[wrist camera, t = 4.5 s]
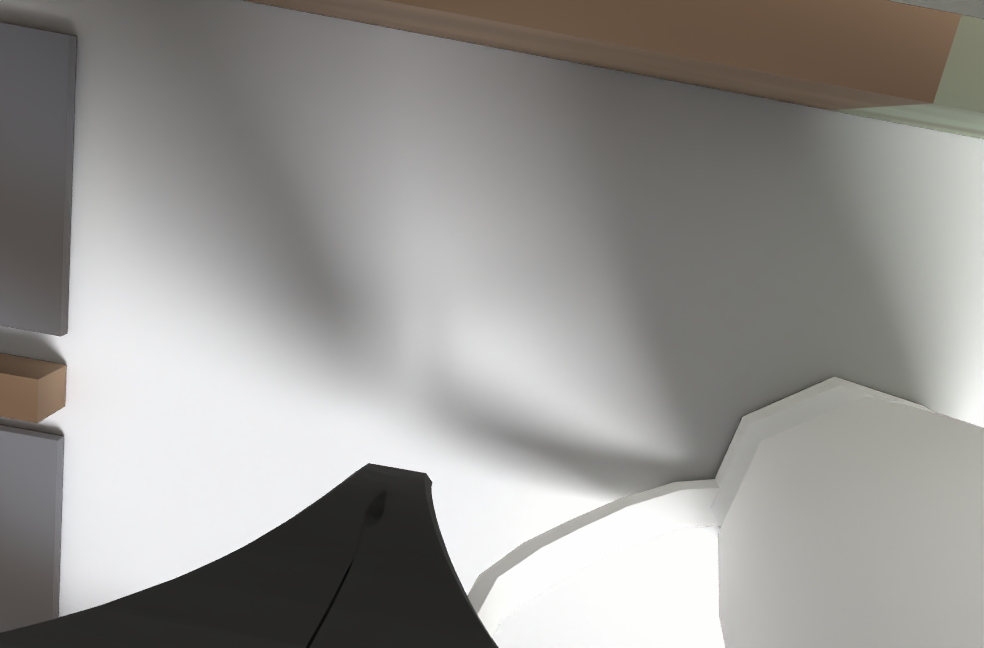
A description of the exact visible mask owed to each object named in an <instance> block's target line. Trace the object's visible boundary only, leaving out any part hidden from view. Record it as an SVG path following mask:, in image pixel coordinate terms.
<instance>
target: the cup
mask: <svg viewBox="0 0 984 648" xmlns="http://www.w3.org/2000/svg"><path fill="white" fill-rule="evenodd" d="M710 526H719V527H720V531H719V533H718V568H719V617H720V622H721V627H722V632H723V638H724V643H725V648H984V428H982V427H979V426H976V425H973V424H970V423H967V422H964V421H961V420H958V419H955V418H952V417H949V416H946V415H942V414H938V413H934V412H932V411H930V410H929V409H927V408H926V407H925V406H922V405H919V404H916V403H913V402H910V401H907V400H904V399H901V398H898V397H895V396H892V395H889V394H886V393H883V392H880V391H877V390H874V389H871V388H868V387H865V386H862V385H858V384H855V383H852V382H849V381H846V380H843V379H840V378H837V377H832V378H830V379H828V380H825V381H823V382H821V383H818V384H816V385H814V386H812V387H809V388H807V389H805V390H802V391H800V392H798V393H796V394H793V395H791V396H789V397H786V398H784V399H782V400H780V401H777V402H775V403H773V404H770V405H768V406H766V407H764V408H761V409H759V410H757V411H754V412H752V413H750V414H748V415H745V416H743V417H742V419H741V421H740V424H739V426H738V428H737V430H736V433H735V435H734V437H733V439H732V441H731V444H730V446H729V448H728V450H727V452H726V455H725V457H724V459H723V461H722V464H721V466H720V468H719V470H718V472H717V475H716V477H715V479H710V480H696V481H682V482H673V483H670V484H667V485H663V486H660V487H657V488H653V489H650V490H647V491H643V492H640V493H637V494H633V495H630V496H627V497H623V498H620V499H617V500H615V501H613V502H611V503H608V504H606V505H604V506H601V507H599V508H597V509H595V510H592V511H590V512H588V513H586V514H583V515H581V516H579V517H576V518H574V519H572V520H570V521H568V522H565V523H563V524H561V525H559V526H557V527H555V528H553V529H551V530H549V531H547V532H545V533H543V534H541V535H539V536H537V537H534V538H532V539H530V540H528V541H526V542H524V543H523V544H521V545H520V546H518V547H517V548H516V549H514V550H513V551H512V552H510V553H509V554H507V555H506V556H505V557H503V558H502V559H501V560H499V561H498V562H497V563H495V564H494V565H492V566H491V567H490V568H488V569H487V570H486V571H484V572H483V573H481V574H480V575H479V576H478V578H477V580H476V582H475V583H474V585H473V587H472V589H471V591H470V592H469V594H468V596H467V597H468V599H469V600H470V602H471V604H472V606H473V608H474V610H475V611H476V613H477V615H478V617H479V618H480V620H481V621H482V623H483V625H484V626H485V628H486V630H487V631H488V633H489V635H490V636H491V638H492V639H493V637H494V635H495V633H496V631H497V629H498V627H499V625H500V623H501V621H503V620H504V619H505V618H507V617H508V616H509V615H511V614H512V613H513V612H515V611H516V610H518V609H519V608H520V607H522V606H523V605H524V604H526V603H527V602H528V601H530V600H531V599H532V598H534V597H535V596H536V595H538V594H539V593H541V592H542V591H543V590H545V589H547V588H548V587H550V586H552V585H554V584H556V583H558V582H559V581H561V580H563V579H565V578H567V577H568V576H570V575H572V574H574V573H576V572H578V571H579V570H581V569H583V568H585V567H587V566H589V565H591V564H593V563H595V562H597V561H599V560H601V559H603V558H605V557H607V556H609V555H611V554H613V553H615V552H617V551H619V550H621V549H623V548H625V547H627V546H629V545H632V544H635V543H638V542H641V541H644V540H647V539H650V538H653V537H656V536H659V535H662V534H665V533H668V532H671V531H674V530H677V529H680V528H689V527H710Z"/></svg>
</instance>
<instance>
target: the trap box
mask: <svg viewBox="0 0 984 648" xmlns="http://www.w3.org/2000/svg"><path fill="white" fill-rule="evenodd" d="M244 1H250V2H255V3H260V4H266V5H271V6H276V7H282V8H287V9H292V10H298V11H303V12H308V13H314V14H319V15H324V16H330V17H335V18H340V19H346V20H351V21H356V22H362V23H367V24H372V25H378V26H383V27H388V28H394V29H399V30H404V31H410V32H415V33H420V34H426V35H431V36H436V37H442V38H447V39H452V40H458V41H463V42H468V43H474V44H479V45H484V46H490V47H495V48H500V49H506V50H511V51H516V52H522V53H527V54H532V55H538V56H543V57H548V58H554V59H559V60H564V61H570V62H575V63H580V64H586V65H591V66H596V67H602V68H607V69H612V70H618V71H623V72H628V73H634V74H639V75H644V76H650V77H655V78H660V79H666V80H671V81H676V82H682V83H687V84H692V85H698V86H703V87H708V88H714V89H719V90H724V91H730V92H735V93H740V94H746V95H751V96H756V97H762V98H767V99H772V100H778V101H783V102H788V103H794V104H799V105H804V106H810V107H815V108H820V109H826V110H831V111H836V112H842V113H847V114H852V115H858V116H863V117H868V118H874V119H879V120H884V121H890V122H895V123H900V124H906V125H911V126H916V127H922V128H927V129H932V130H938V131H943V132H948V133H954V134H959V135H964V136H970V137H975V138H980V139H984V19H982V18H977V17H972V16H967V15H961V14H956V13H951V12H946V11H940V10H935V9H930V8H924V7H919V6H914V5H909V4H903V3H898V2H893V1H888V0H244ZM76 44H77V37H76V36H71V35H66V34H61V33H55V32H50V31H45V30H39V29H34V28H28V27H23V26H18V25H12V24H7V23H2V22H0V326H6V327H11V328H17V329H23V330H28V331H34V332H39V333H45V334H50V335H56V336H63V335H65V334H67V329H68V297H69V266H70V234H71V202H72V171H73V139H74V107H75V76H76ZM65 392H66V365H63V364H58V363H52V362H46V361H41V360H35V359H30V358H24V357H19V356H13V355H8V354H2V353H0V417H6V418H11V419H17V420H23V421H28V422H34V423H38V422H40V421H42V420H43V419H45V418H47V417H48V416H50V415H52V414H53V413H55V412H56V411H58V410H60V409H61V408H63V407H65ZM63 455H64V436H59V435H54V434H48V433H42V432H37V431H31V430H26V429H20V428H15V427H9V426H3V425H0V633H1V632H5V631H9V630H13V629H17V628H21V627H25V626H29V625H33V624H37V623H41V622H45V621H49V620H52V619H56V618H58V613H59V582H60V550H61V519H62V487H63Z"/></svg>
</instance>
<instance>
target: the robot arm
mask: <svg viewBox="0 0 984 648" xmlns="http://www.w3.org/2000/svg"><path fill="white" fill-rule="evenodd" d="M431 486H432V481H431V480H430V478H429V477H428V475H427V474H426V473H421V472H416V471H410V470H404V469H399V468H393V467H387V466H381V465H376V464H370V463H368V464H367V465H365V466H364V467H362V468H361V469H359V470H358V471H356V472H355V473H354V474H352V475H351V476H350V477H348V478H347V479H346V480H344V481H343V482H342V483H340V484H339V485H338V486H336V487H335V488H334V489H332V490H331V491H330V492H328V493H327V494H326V495H324V496H323V497H322V498H320V499H319V500H317V501H316V502H314V503H313V504H311V505H310V506H309V507H307V508H306V509H304V510H303V511H301V512H300V513H298V514H297V515H295V516H294V517H293V518H291V519H289V520H288V521H286V522H285V523H283V524H281V525H280V526H278V527H276V528H275V529H273V530H271V531H270V532H268V533H266V534H265V535H263V536H261V537H260V538H258V539H256V540H255V541H253V542H251V543H249V544H248V545H246V546H244V547H242V548H240V549H238V550H236V551H234V552H232V553H230V554H228V555H226V556H224V557H222V558H220V559H218V560H216V561H214V562H211V563H209V564H207V565H205V566H203V567H200V568H198V569H196V570H194V571H192V572H189V573H187V574H185V575H182V576H180V577H178V578H175V579H173V580H170V581H167V582H164V583H162V584H159V585H156V586H153V587H150V588H148V589H145V590H142V591H139V592H137V593H134V594H131V595H128V596H126V597H123V598H120V599H117V600H114V601H112V602H109V603H106V604H103V605H100V606H97V607H94V608H90V609H87V610H84V611H80V612H77V613H73V614H70V615H66V616H63V617H59V618H56V619H52V620H49V621H45V622H41V623H37V624H33V625H29V626H25V627H21V628H17V629H13V630H9V631H5V632H1V633H0V648H498V646H497V645H496V643H495V642H494V640H493V639H492V638H491V636H490V635H489V633H488V631H487V630H486V628H485V626H484V625H483V623H482V621H481V620H480V618H479V617H478V615H477V613H476V611H475V610H474V608H473V606H472V604H471V602H470V600H469V599H468V597H467V595H466V593H465V591H464V589H463V587H462V584H461V582H460V580H459V578H458V576H457V574H456V572H455V569H454V567H453V565H452V562H451V560H450V557H449V555H448V552H447V549H446V546H445V543H444V541H443V538H442V535H441V532H440V529H439V526H438V522H437V519H436V515H435V510H434V506H433V500H432V493H431Z"/></svg>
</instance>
